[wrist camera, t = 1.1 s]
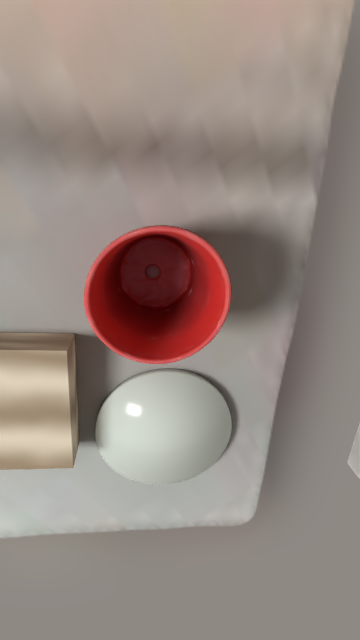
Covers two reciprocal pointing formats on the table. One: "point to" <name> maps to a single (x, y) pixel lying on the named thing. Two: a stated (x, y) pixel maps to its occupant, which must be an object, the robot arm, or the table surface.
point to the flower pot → (157, 294)
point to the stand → (38, 401)
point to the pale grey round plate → (163, 426)
